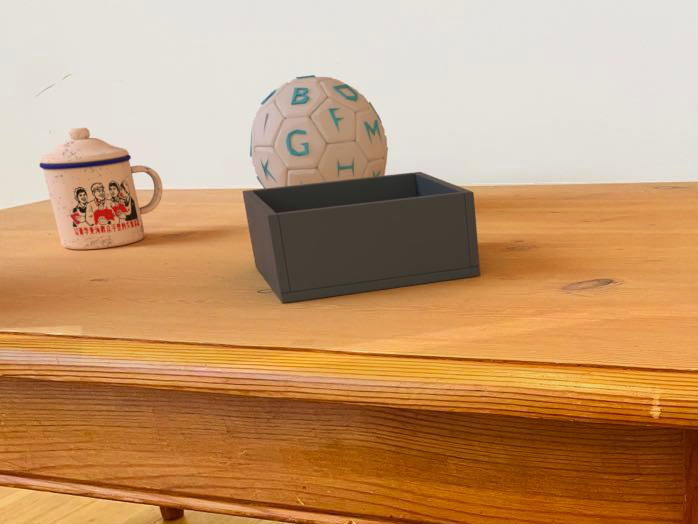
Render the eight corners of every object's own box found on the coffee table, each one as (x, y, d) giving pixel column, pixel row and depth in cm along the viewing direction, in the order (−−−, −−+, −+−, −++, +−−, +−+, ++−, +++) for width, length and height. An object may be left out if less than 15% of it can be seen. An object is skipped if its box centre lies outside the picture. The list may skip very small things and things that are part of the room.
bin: (282, 303, 85) (267, 215, 82) (255, 267, 99) (242, 190, 96) (480, 275, 90) (473, 191, 87) (428, 244, 104) (420, 171, 101)
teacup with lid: (74, 254, 111) (45, 134, 106) (49, 244, 118) (21, 131, 113) (186, 235, 118) (163, 122, 113) (156, 227, 124) (134, 120, 119)
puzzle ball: (407, 204, 129) (392, 68, 122) (378, 227, 115) (359, 75, 109) (285, 210, 130) (264, 76, 124) (242, 233, 117) (216, 84, 110)
